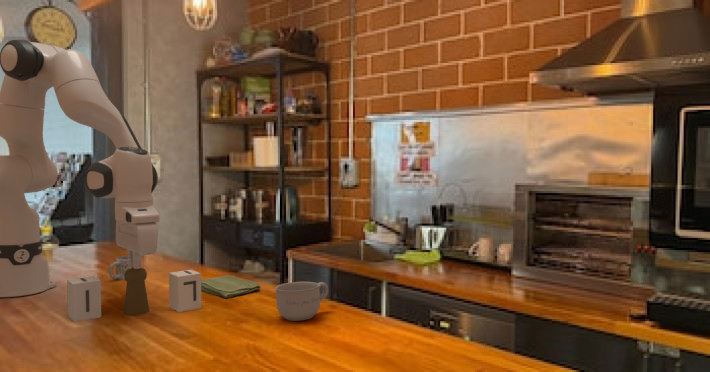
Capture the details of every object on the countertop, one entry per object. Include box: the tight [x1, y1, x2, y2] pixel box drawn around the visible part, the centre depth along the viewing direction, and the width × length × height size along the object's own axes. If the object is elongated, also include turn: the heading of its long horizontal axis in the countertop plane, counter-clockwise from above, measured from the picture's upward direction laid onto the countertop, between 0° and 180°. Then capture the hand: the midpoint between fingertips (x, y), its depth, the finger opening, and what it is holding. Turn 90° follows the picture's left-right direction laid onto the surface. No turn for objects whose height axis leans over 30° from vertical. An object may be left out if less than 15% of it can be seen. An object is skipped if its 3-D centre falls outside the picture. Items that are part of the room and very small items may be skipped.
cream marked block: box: [168, 269, 202, 313], centre depth 140 cm, size 6×6×9 cm
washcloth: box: [201, 274, 261, 299], centre depth 159 cm, size 13×18×3 cm
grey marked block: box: [66, 275, 102, 323], centre depth 132 cm, size 6×6×9 cm
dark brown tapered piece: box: [123, 267, 150, 316], centre depth 136 cm, size 6×6×11 cm
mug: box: [108, 255, 132, 281], centre depth 172 cm, size 10×7×7 cm, turn 154°
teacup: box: [274, 281, 329, 322], centre depth 132 cm, size 14×11×8 cm
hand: (135, 268), depth 136 cm, fingers closed, pressing on dark brown tapered piece
